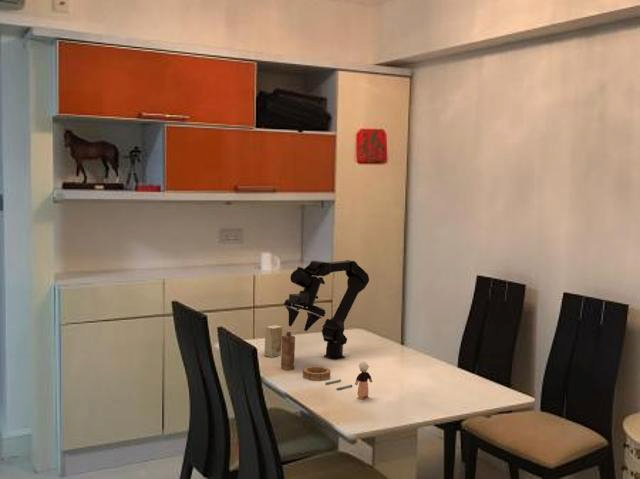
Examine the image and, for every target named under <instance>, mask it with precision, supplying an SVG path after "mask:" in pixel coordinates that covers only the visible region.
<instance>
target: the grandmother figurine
mask: <svg viewBox="0 0 640 479" xmlns="http://www.w3.org/2000/svg"><path fill="white" fill-rule="evenodd" d="M358 367H359V371H360V372H361V373H358V374H357V377H356V378H355V382H354V385H355V386H358V388H357V398H356V399H358V400H361V401H365V400H366V399H370V397H369V382H370V384H371V383H373V379H372V376H371V375H370V373H369V372H368V369H369V368H370V367H369V364H368V363H367V362H366V361H361V362H359V365H358ZM368 380H369V381H368Z"/></svg>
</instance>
